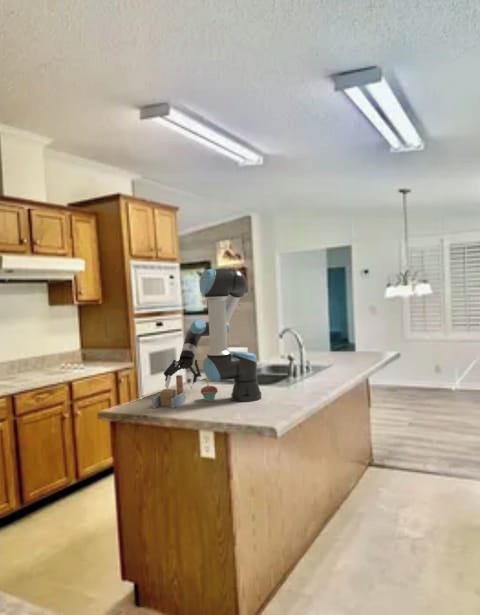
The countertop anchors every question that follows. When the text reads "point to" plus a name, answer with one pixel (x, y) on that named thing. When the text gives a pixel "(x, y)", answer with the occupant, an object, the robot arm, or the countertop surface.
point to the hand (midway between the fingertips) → (178, 387)
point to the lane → (174, 401)
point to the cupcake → (209, 392)
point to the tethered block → (171, 392)
